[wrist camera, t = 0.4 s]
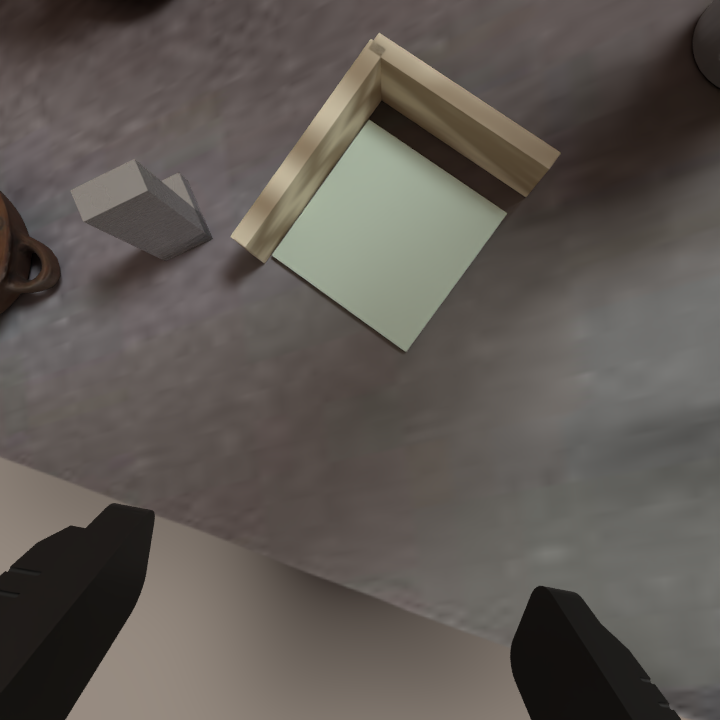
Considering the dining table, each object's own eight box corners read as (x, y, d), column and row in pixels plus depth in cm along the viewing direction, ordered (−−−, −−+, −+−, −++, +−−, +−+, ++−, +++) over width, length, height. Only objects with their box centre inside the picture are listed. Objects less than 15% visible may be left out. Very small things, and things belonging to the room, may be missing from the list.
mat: (369, 122, 36) (368, 119, 36) (505, 215, 35) (507, 213, 35) (273, 256, 36) (271, 255, 36) (405, 352, 35) (406, 351, 35)
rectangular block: (212, 238, 37) (147, 190, 27) (165, 260, 37) (83, 221, 27) (187, 180, 37) (114, 112, 27) (140, 203, 37) (51, 144, 27)
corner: (377, 77, 36) (376, 31, 31) (536, 183, 35) (561, 152, 30) (251, 254, 36) (230, 236, 31) (403, 364, 35) (406, 364, 30)
